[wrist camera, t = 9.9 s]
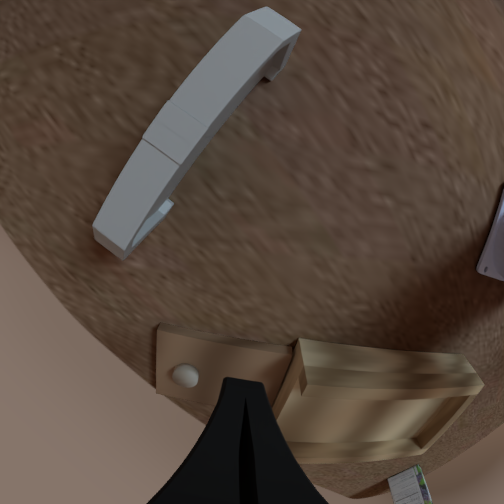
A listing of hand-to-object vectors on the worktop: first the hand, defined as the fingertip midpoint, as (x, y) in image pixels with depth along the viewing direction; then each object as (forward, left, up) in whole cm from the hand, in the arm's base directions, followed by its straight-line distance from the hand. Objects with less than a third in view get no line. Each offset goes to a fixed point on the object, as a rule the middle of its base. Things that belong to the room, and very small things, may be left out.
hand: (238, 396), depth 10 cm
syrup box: (-34, +32, -11) cm, 48 cm away
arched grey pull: (+4, -8, -11) cm, 14 cm away
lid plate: (0, +9, -11) cm, 14 cm away
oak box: (-14, +10, -10) cm, 20 cm away
